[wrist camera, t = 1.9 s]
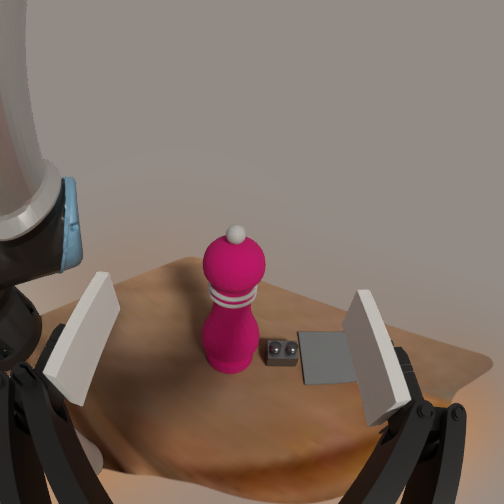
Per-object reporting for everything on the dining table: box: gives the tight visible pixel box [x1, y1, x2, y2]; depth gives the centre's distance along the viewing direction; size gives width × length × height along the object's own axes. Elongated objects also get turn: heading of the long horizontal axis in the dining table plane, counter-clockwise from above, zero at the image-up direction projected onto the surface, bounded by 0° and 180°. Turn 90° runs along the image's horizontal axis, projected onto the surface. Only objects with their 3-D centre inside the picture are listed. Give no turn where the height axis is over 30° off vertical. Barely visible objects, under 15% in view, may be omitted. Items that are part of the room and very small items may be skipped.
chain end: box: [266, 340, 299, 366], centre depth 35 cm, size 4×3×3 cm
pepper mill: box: [201, 225, 265, 374], centre depth 29 cm, size 7×7×20 cm
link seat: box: [298, 332, 357, 385], centre depth 36 cm, size 9×9×1 cm
